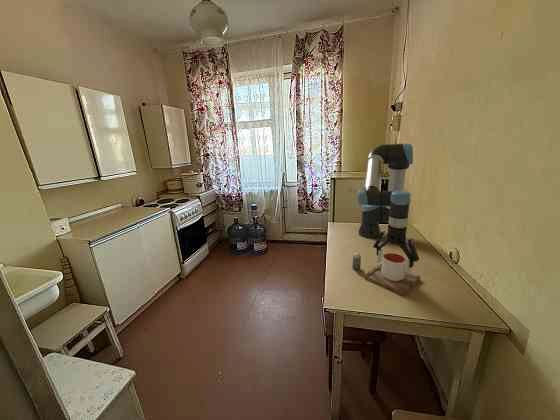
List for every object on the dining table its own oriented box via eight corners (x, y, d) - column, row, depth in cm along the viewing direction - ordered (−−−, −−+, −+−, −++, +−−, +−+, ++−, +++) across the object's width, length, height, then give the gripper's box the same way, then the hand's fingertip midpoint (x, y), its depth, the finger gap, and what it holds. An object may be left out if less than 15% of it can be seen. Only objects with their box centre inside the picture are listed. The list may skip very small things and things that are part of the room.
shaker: (355, 265, 122) (356, 250, 120) (361, 268, 119) (362, 253, 117) (350, 268, 120) (351, 253, 117) (357, 271, 117) (358, 255, 114)
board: (383, 265, 121) (383, 262, 120) (420, 279, 107) (420, 276, 107) (364, 278, 110) (364, 274, 110) (402, 295, 97) (403, 291, 96)
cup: (377, 277, 108) (379, 258, 106) (385, 268, 115) (387, 251, 112) (400, 285, 102) (402, 265, 99) (406, 275, 108) (409, 256, 106)
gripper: (367, 221, 109) (365, 260, 115) (424, 235, 90) (418, 281, 96) (375, 217, 113) (373, 255, 119) (432, 230, 94) (425, 274, 100)
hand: (393, 267), depth 107 cm, fingers open, 13 cm apart
